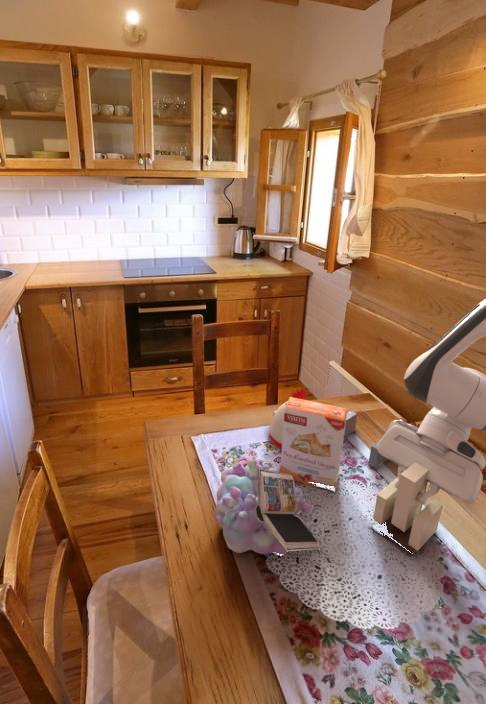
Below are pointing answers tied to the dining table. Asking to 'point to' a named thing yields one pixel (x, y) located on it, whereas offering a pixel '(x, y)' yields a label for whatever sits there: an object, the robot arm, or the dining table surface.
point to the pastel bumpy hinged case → (262, 510)
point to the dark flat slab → (399, 537)
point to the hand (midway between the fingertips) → (409, 495)
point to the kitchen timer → (281, 420)
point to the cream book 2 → (425, 524)
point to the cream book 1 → (385, 503)
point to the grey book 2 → (376, 457)
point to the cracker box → (312, 441)
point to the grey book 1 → (350, 423)
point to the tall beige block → (409, 496)
